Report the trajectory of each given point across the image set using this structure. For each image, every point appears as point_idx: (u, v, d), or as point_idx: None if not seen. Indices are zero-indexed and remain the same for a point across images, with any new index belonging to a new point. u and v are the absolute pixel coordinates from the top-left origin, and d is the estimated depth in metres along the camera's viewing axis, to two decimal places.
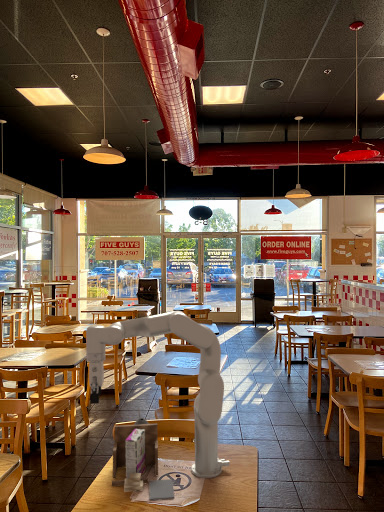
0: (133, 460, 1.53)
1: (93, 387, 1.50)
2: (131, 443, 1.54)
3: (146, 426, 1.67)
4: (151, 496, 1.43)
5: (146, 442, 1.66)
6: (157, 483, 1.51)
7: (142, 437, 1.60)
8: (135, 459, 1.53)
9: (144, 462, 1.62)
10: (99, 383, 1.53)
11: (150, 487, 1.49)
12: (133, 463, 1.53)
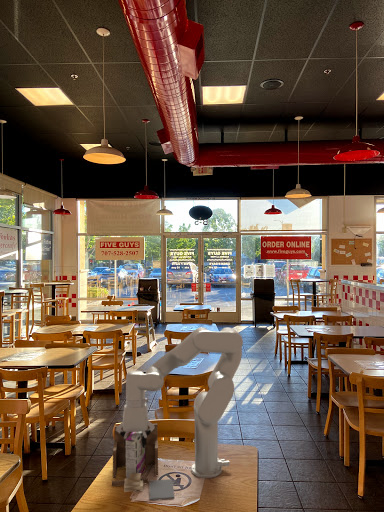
0: (133, 460, 1.53)
1: None
2: (131, 443, 1.53)
3: None
4: (151, 496, 1.43)
5: (146, 442, 1.66)
6: (157, 483, 1.51)
7: (142, 437, 1.60)
8: (135, 459, 1.53)
9: (144, 462, 1.62)
10: None
11: (150, 487, 1.49)
12: (134, 463, 1.53)
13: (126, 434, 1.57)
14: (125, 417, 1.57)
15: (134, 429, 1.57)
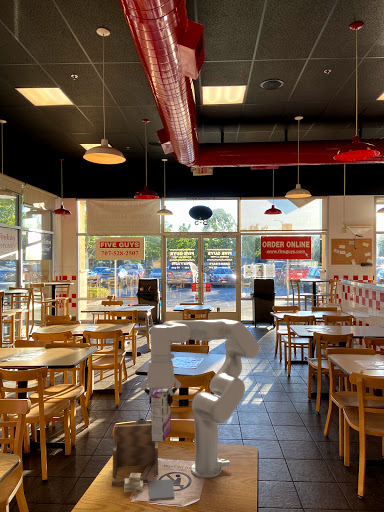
0: (159, 418, 1.43)
1: None
2: (157, 400, 1.43)
3: (146, 426, 1.67)
4: (151, 496, 1.43)
5: (146, 442, 1.66)
6: (157, 483, 1.51)
7: (167, 395, 1.49)
8: (162, 417, 1.43)
9: (169, 422, 1.52)
10: None
11: (150, 487, 1.49)
12: (160, 421, 1.43)
13: (151, 391, 1.47)
14: (150, 373, 1.46)
15: (160, 386, 1.47)
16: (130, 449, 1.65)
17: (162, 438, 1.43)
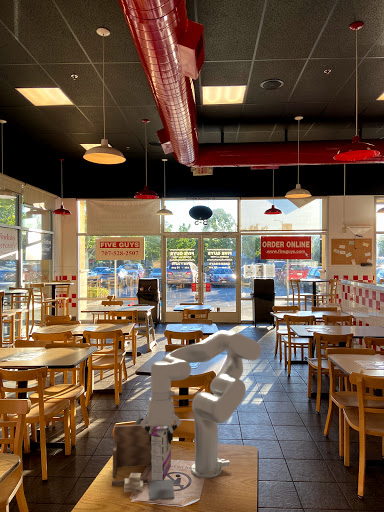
0: (159, 456, 1.43)
1: None
2: (157, 438, 1.43)
3: None
4: (151, 496, 1.43)
5: (146, 442, 1.66)
6: (157, 483, 1.51)
7: (167, 432, 1.49)
8: (162, 456, 1.42)
9: (169, 459, 1.51)
10: None
11: (150, 487, 1.49)
12: (160, 460, 1.42)
13: (151, 429, 1.47)
14: (150, 411, 1.46)
15: (160, 424, 1.46)
16: (130, 449, 1.65)
17: (162, 477, 1.42)
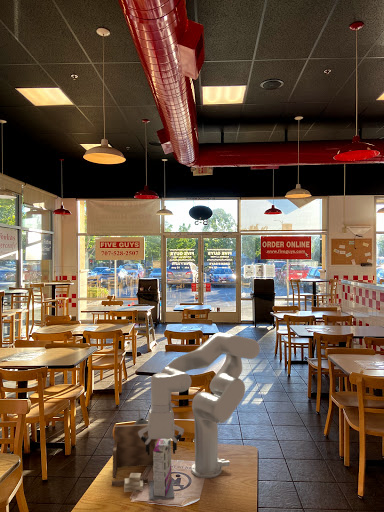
0: (161, 472, 1.43)
1: None
2: (159, 454, 1.43)
3: (146, 426, 1.67)
4: (151, 496, 1.43)
5: None
6: None
7: (169, 447, 1.49)
8: (164, 471, 1.42)
9: (170, 474, 1.51)
10: None
11: (150, 487, 1.49)
12: (162, 475, 1.43)
13: (148, 440, 1.46)
14: (150, 423, 1.46)
15: (160, 436, 1.46)
16: (130, 449, 1.65)
17: (164, 493, 1.42)
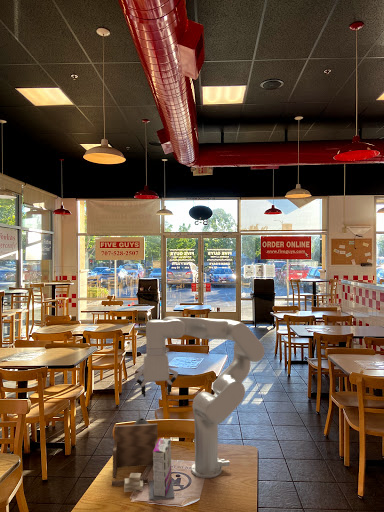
0: (161, 472, 1.43)
1: None
2: (159, 454, 1.43)
3: (146, 426, 1.67)
4: (151, 496, 1.43)
5: (146, 442, 1.66)
6: None
7: (168, 447, 1.49)
8: (164, 471, 1.42)
9: (170, 474, 1.51)
10: None
11: (150, 487, 1.49)
12: (162, 475, 1.43)
13: (144, 382, 1.52)
14: (146, 366, 1.52)
15: (155, 378, 1.52)
16: (130, 449, 1.65)
17: (164, 493, 1.42)
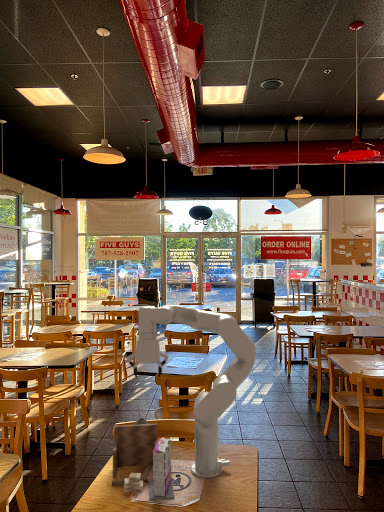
0: (161, 472, 1.43)
1: (167, 358, 1.65)
2: (159, 454, 1.43)
3: (146, 426, 1.67)
4: (151, 496, 1.43)
5: (146, 442, 1.66)
6: None
7: (168, 447, 1.49)
8: (164, 471, 1.43)
9: (170, 474, 1.51)
10: None
11: (150, 487, 1.49)
12: (162, 475, 1.43)
13: (136, 364, 1.63)
14: (138, 349, 1.62)
15: (146, 361, 1.62)
16: (130, 449, 1.65)
17: (164, 493, 1.42)
